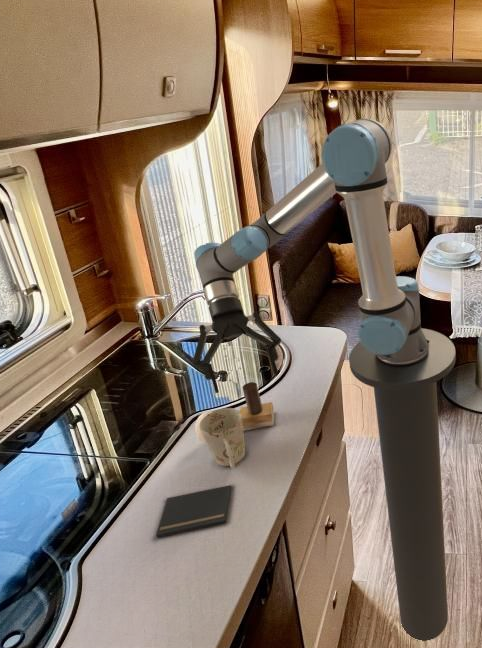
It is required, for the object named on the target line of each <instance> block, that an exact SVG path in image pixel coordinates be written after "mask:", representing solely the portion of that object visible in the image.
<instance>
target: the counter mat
mask: <svg viewBox="0 0 482 648" xmlns="http://www.w3.org/2000/svg"><path fill="white" fill-rule="evenodd" d="M231 492H232V485H231V484H229V485H225V486H220V487H215V488H211V489H206V490H201V491H196V492H190V493H186V494H181V495H177V496H171V497H167V498H166V501H165V505H164V508H163V511H162V515H161V517H160V518H161V519H160V522H159V525H158V528H157V531H156V534H155V536H156V538H161V537H166V536H170V535H174V534H180V533H183V532H188V531H193V530H197V529H202V528H207V527H210V526H211V527H212V526H216V525H220V524H225V523H227V518H228V512H229V505H230V499H231Z"/></svg>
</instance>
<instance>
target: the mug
mask: <svg viewBox="0 0 482 648" xmlns="http://www.w3.org/2000/svg"><path fill="white" fill-rule="evenodd" d="M199 427H200V431H201V433H202V435H203V437H204V439H205V441H206V442H207V444H206V445H207V446H208V448H209V450H210V452H211V455H212V456H213V458H214V460H215V462H216V464H217V465H219V466H221V467H230V468H231V469H235V468H236V464H238V463H239V462H241V460H243V459H244V458H245V455H246V445H245V437H244V436H245V435H244V431H243V424H242V416H241V413H240V410H238V409H237V408H232V407H225V408H219V409H216V410H214V411H213V412H212V413H210V414H208V415H207V416H205V417H204V418H203V419H202V421H201V422H200V426H199Z"/></svg>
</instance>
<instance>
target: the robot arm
mask: <svg viewBox="0 0 482 648" xmlns="http://www.w3.org/2000/svg"><path fill="white" fill-rule="evenodd" d="M392 150H393V144H392V138H391V135H390V132H389V131H388V129H387V128H386V127H385V125H383V124H382V123H380V122H379V121H378V120H375V119H373V118H359V119H356V120H353V121H351V122H347V123H345V124H343V123H342V124H340V125H339V126H337V127H336V128H334V129H333V130H332V131H331V132H330V133H329V134H328V135H327V136H326V137H325V140H324V141H323V144H322V148H321V162H322V163H320V165H319V166H317V167H316V168H315V169H314V170H313V171H311V173H310V174H308V175H307V176H306V177H305V178H304V179H302V180H301V181H300V182H299V183H298V184H297V185H296V186H294V187H293V188H292V189H291V190H290V191H289V192H288V193H286V194H285V195H284V196H283V197H282V198H280V199H279V200H278V201H277V202H276V203H275V204H273V206H272V207H271V208H270V209H268V210H267V211H266V212H265V213H264V214H262V215H260V217H259V218H258V219H256V220H255V221H254V222H252V223H251V224H249V225H246V226H244V227H243V228H241V229H239V230H238V231H236V232H235V233H234V234H232V235H231V236H230V237H228V238H226V240H224V241H223V242H222V243H219V242H213V241H211V242H206V243H205V244H200V245H199V246H198V247H196V249H195V250H194V252H193V256H194V261H195V267H196V270H197V272H198V276H199V279H200V282H201V286H202V289H203V293H204V298H205V301H206V304H207V306H208V311H209V315H210V318H211V324H210V325H204V324H200V325H199V327H198V328H199V337H198V341H197V345H196V348H195V352H194V356H193V359H192V365H193V367H194V368H202V369H203V373H204V377H205V380H206V381H210V380H211V382H212V385H213V389H214V392H215V394H219V393H220V391H219V387H218V383H217V380H216V376H215V372H214V369H213V368H214V367H213V365H212V363H211V361H212V360H213V358H214V356H215V354H216V352H217V351H218V349H219V347H220V346H221V344H222V343H223V341H224V339H225V340H232V339H233V338H239V337H241V336H243V335H244V336H246V337H249V338H251V339H252V340H253V341H256V342H257V343H259V344H261V345H262V346H264V347H266V353H267V356H268V359H269V362H270V366H271V369H272V372H273V375H274V376H275V377H276V376H278V374H279V371H278V367H277V364H276V362H277V361H278V360H279V355H278V352H277V347H278V346H280V345H281V343H282V339H281V337H280V336H278V335H277V333H275V332H274V330H272V329H271V327H270V326H268V325H267V324H266V323H265V322H264V321H263V320H262V319H261V316H260V314H259V312H257V311H254V312H253V313H252V314H250V315H248V316H247V315H246V314H245V311H244V308H243V305H242V302H241V299H240V294H239V291H238V288H237V285H236V282H235V278H234V274H235V273H236V272H238V271H239V270H241V269H242V268H244V267H245V266H247V265H248V264H250V263H251V262H253V261H254V260H256V259H258V258H260V257H261V256H262V255H263V254H264V253H265V252H266V251H268V250H269V249H270V248H271V247H273V246H274V245H276V244H277V243H279V242H280V241H281V240H282V239H283V238H284V237H285V236H286V235H287V234H288V233H289V232H291V231H292V230H293V229H295V228H296V227H297V226H298V225H299V224H301V223H302V222H303V221H304V220H305V219H307V218H308V217H309V216H310V215H312V213H314V212H315V211H316V210H318V209H319V208H320V207H321V206H322V205H324V204H325V203H326V202H327V201H329V200H330V199H331V198H332V197H334V196H335V195H336V194H338V195H340V196H341V197H342V198H343V200H344V203H345V208H346V214H347V220H348V225H349V229H350V234H351V239H352V245H353V250H354V251H353V252H354V256H355V260H356V265H357V271H358V277H359V280H360V287H361V291H362V295H361V296H360V298H358V300H357V304H358V309H359V314H360V319H361V322H360V323H359V325H358V328H357V337H358V340H359V342H361V343H362V345H363V346H364V347H365V348H366V349H369V350H370V351H371V352H373V353H376V357H377V359H378V360H379V361H380V362H381V363H383V364H385V365H388V366H392V367H406V366H411V365H415V364H417V363H419V362H421V361H423V360H424V359H425V358H426V357H427V356H428V354H429V346H428V343H429V342H430V341H429V340H427V339H426V338H425V336H424V333H423V331H422V329H421V328H422V322H421V305H420V303H421V302H420V288H419V287H420V286H419V282H418V280H416V279H415V278H413V277H409V276H404V275H403V276H402V275H401V276H400V275H398V276H397V274H396V268H395V263H394V262H395V261H394V256H393V249H392V244H391V243H392V242H391V237H390V231H389V225H388V218H387V211H386V205H385V201H384V200H385V199H384V190H385V189H386V188H387V186H388V185H389V182H388V176H387V175H388V174H387V168H386V164H387V162H388V160H389V159H390V156H391V154H392ZM249 322H251V323H252V324H255V325H256V326H257V327H258V328H259V329H260V330H261V331H262V332H263V333H264V334H265V336H267V337H268V338H267V337H265V336H263V335H262V334H260V333H259V332H257V331H255V330H254V329H252V328H251V327H250V326H248V324H249ZM211 331H213V332H214V333H215V336H214V339H213V341H212V343H211V345H210V346H209V347H208V349H207V352H206V353H205V355H204V357H203V353H204V349H205V346H206V342H207V336H209V335H210V333H211Z"/></svg>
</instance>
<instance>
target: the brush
mask: <svg viewBox="0 0 482 648" xmlns="http://www.w3.org/2000/svg"><path fill="white" fill-rule="evenodd" d="M242 392H243V396H244V400H245V404H246V406H242V407H240V409H239V412H240V413H241V416H242V424H243V432H245V431H250V430H254V429H260V428H266V427H271V426H274V422H275V421H274V420H275V413H274V411H275V410H274V404H273V402H272V401H270V402H265V403H262V400H261V396H260V391H259V388H258V383H256V382H253V381H251V382H247V383H245V384H244V385H243V386H242Z"/></svg>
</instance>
